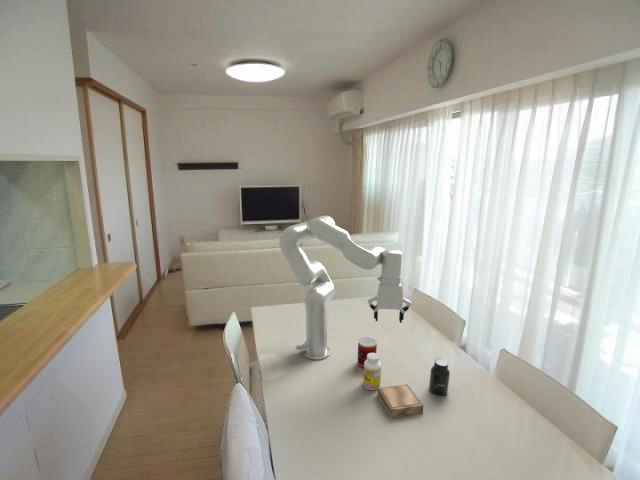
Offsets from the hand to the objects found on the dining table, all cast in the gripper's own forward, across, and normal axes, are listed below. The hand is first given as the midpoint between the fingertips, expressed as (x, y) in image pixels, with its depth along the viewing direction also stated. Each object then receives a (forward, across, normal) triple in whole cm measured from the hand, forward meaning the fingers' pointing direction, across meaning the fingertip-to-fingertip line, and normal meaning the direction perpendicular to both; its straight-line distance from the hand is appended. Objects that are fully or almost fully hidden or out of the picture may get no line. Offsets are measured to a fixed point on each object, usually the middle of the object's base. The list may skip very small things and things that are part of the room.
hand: (388, 320), depth 141 cm
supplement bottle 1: (+22, -6, -12) cm, 26 cm away
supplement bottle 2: (+23, +19, -11) cm, 32 cm away
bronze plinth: (+22, +3, -21) cm, 31 cm away
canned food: (+22, -8, +3) cm, 24 cm away
